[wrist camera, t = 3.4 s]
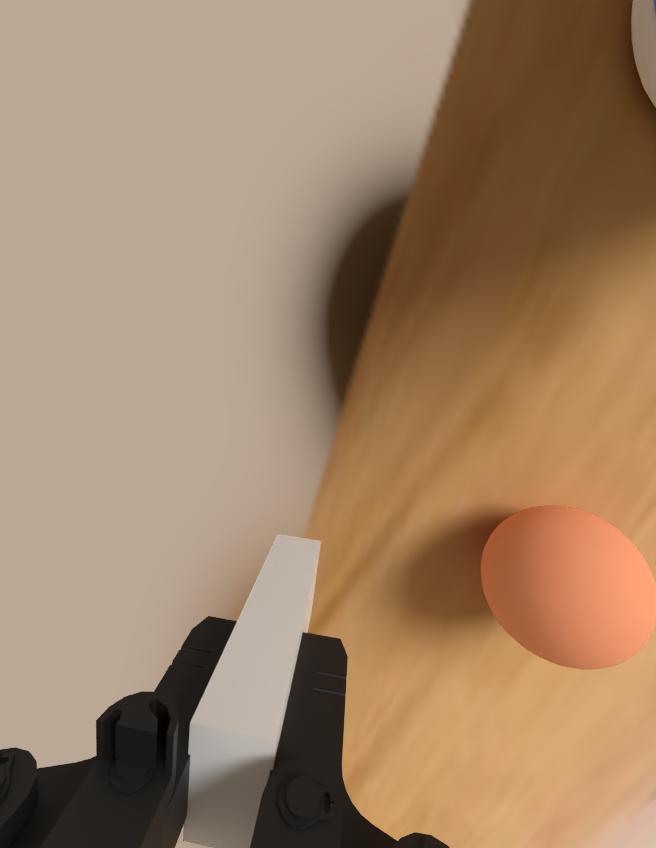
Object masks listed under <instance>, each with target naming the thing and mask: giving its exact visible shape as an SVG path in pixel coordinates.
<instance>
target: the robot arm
mask: <svg viewBox="0 0 656 848" xmlns="http://www.w3.org/2000/svg"><path fill="white" fill-rule="evenodd" d="M320 545H321V541H318V540H312V539H306V538H300V537H294V536H288V535H282V534H277V537H276V539H275V541H274V543H273V545H272V548H271V550H270V552H269V554H268V556H267V558H266V560H265V562H264V565H263V567H262V569H261V571H260V573H259V575H258V577H257V580H256V582H255V584H254V586H253V588H252V590H251V593H250V595H249V597H248V599H247V601H246V603H245V606H244V608H243V610H242V612H241V614H240V616H239V619H238V621H232V620H226V619H221V618H216V617H210V616H208V617H207V618H206V619H204V620H203V621H202V622H201V623H199V624H198V625H197V626H196V627H194V628H193V629H192V630H191V632H190V634H189V635H188V637H187V638H186V640H185V642H184V643H183V645H182V648H181V650H179V652H178V653H177V655H176V657H175V658H174V660H173V662H172V665H170V666H169V668H168V670H167V671H166V673H165V675H164V676H163V678H162V680H161V681H160V683H159V684H158V686H157V688H156V689H155V691H154V692H139V693H136V694H133V695H129V696H126V697H124V698H123V699H121V700H119V701H118V702H116V703H115V704H113V705H111V706H110V707H109V708H108V709H107V710H106V711H105V712H104V713H103V714H102V715H101V716H100V717H99V718H98V719H97V720H96V734H97V735H96V739H97V756H95V757H93V758H91V759H88V760H84V761H80V762H77V763H70V764H64V765H57V766H51V767H44V768H38V769H37V763H36V760H35V759H34V757H33V756H32V755H31V753H30V752H29V751H26V750H22V749H18V748H9V749H2V750H0V848H175V846H176V843H177V840H178V837H179V835H180V832H181V829H182V827H183V824H184V833H183V841H187V842H191V843H196V844H201V845H204V846H209V847H214V848H449V847H448V846H447V845H446V844H444V843H443V842H441V841H439V840H438V839H436V838H435V837H433V836H432V835H427V834H421V833H412V834H410V835H407V836H405V837H402V838H400V839H399V841H396V840H395V839H393V838H392V837H390V836H389V835H387V834H386V833H384V832H383V831H381V830H380V829H378V828H377V827H375V826H374V825H372V824H371V823H370V822H369V821H368V820H367V819H365V818H364V817H363V816H362V815H361V814H360V813H359V811H358V810H357V809H356V807H355V806H354V805H353V804H352V802H351V800H350V798H349V796H348V794H347V792H346V789H345V785H344V781H343V778H342V749H343V731H344V713H345V693H346V676H347V658H348V657H347V654H346V652H345V649H344V647H343V644H342V642H341V639H338V638H332V637H327V636H321V635H316V634H311V633H307V631H308V626H309V621H310V616H311V611H312V604H313V597H314V589H315V582H316V575H317V567H318V560H319V552H320Z"/></svg>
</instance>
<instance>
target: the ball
mask: <svg viewBox="0 0 656 848" xmlns="http://www.w3.org/2000/svg"><path fill="white" fill-rule="evenodd" d="M481 581H482V588H483V591H484V594H485V597H486V600H487V602H488V605H489V607H490V609H491V611H492V612H493V614H494V616H495V617H496V619H497V620H498V622H499V623H500V624H501V626H502V627H503V628H504V629H505V630H506V632H507V633H508V634H509V635H510V636H511V637H512V638H514V639H515V640H516V641H517V642H518V643H519V644H520V645H522V646H523V647H524V648H526V649H527V650H529V651H530V652H532V653H534V654H535V655H537V656H539V657H541V658H543V659H545V660H547V661H550V662H552V663H555V664H558V665H561V666H565V667H570V668H577V669H600V668H606V667H610V666H613V665H617V664H619V663H622V662H624V661H626V660H627V659H629V658H631V657H632V656H634V655H635V654H636V653H637V652H638V651H639V650H641V649H642V647H643V646H644V645H645V644H646V643H647V641H648V640H649V638H650V637H651V635H652V633H653V631H654V628H655V625H656V583H655V580H654V577H653V574H652V572H651V570H650V568H649V566H648V564H647V562H646V560H645V559H644V557H643V555H642V554H641V553H640V552H639V550H638V549H637V548H636V547H635V545H634V544H633V543H632V542H631V541H630V540H629V539H628V538H627V537H626V536H625V535H624V534H622V533H621V532H620V531H619V530H618V529H617V528H615V527H614V526H612V525H611V524H609V523H608V522H606V521H604V520H603V519H601V518H599V517H597V516H595V515H592V514H590V513H587V512H584V511H582V510H579V509H574V508H569V507H564V506H538V507H532V508H528V509H525V510H522V511H520V512H517V513H515V514H513V515H511V516H510V517H508V518H507V519H505V520H504V521H503V522H502V523H501V524H499V525H498V526H497V528H496V529H495V530H494V531H493V532H492V534H491V535H490V537H489V539H488V541H487V543H486V545H485V547H484V550H483V553H482V559H481Z"/></svg>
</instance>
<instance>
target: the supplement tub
mask: <svg viewBox="0 0 656 848" xmlns="http://www.w3.org/2000/svg"><path fill="white" fill-rule="evenodd" d="M631 32H632V46H633V52H634V58H635V63H636V67H637V70H638V73H639V76H640V79H641V82H642V85H643V88H644V90H645V91H646V93H647V95H648V96H649V98H650V100H651V101H652V103H653V104H654V106H655V107H656V0H633V4H632V17H631Z"/></svg>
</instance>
